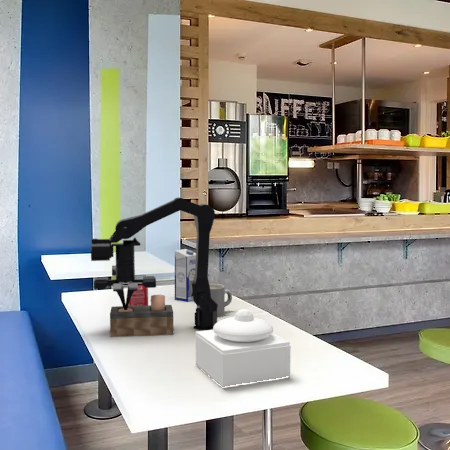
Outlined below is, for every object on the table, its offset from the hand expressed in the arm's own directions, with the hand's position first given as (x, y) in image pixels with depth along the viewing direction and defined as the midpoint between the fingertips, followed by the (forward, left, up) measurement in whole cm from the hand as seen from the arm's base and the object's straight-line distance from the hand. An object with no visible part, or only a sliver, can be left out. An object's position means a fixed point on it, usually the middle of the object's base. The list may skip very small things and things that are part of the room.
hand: (125, 309), depth 169 cm
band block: (-4, -3, -7) cm, 9 cm away
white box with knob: (-47, +16, -7) cm, 50 cm away
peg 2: (-8, -6, -3) cm, 10 cm away
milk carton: (+7, -50, -7) cm, 51 cm away
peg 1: (0, 0, -7) cm, 7 cm away
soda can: (+8, -18, -7) cm, 21 cm away
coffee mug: (-14, -34, -7) cm, 37 cm away
